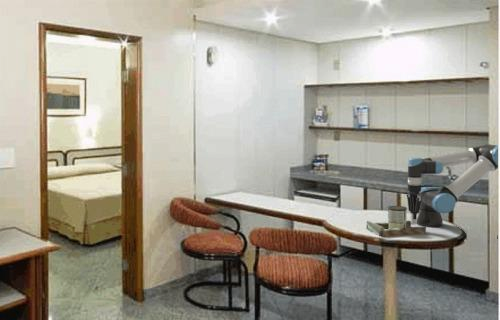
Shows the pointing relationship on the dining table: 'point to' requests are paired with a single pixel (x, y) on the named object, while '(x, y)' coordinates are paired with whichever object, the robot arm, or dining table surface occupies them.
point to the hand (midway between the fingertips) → (413, 224)
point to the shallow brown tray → (394, 229)
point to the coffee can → (396, 217)
